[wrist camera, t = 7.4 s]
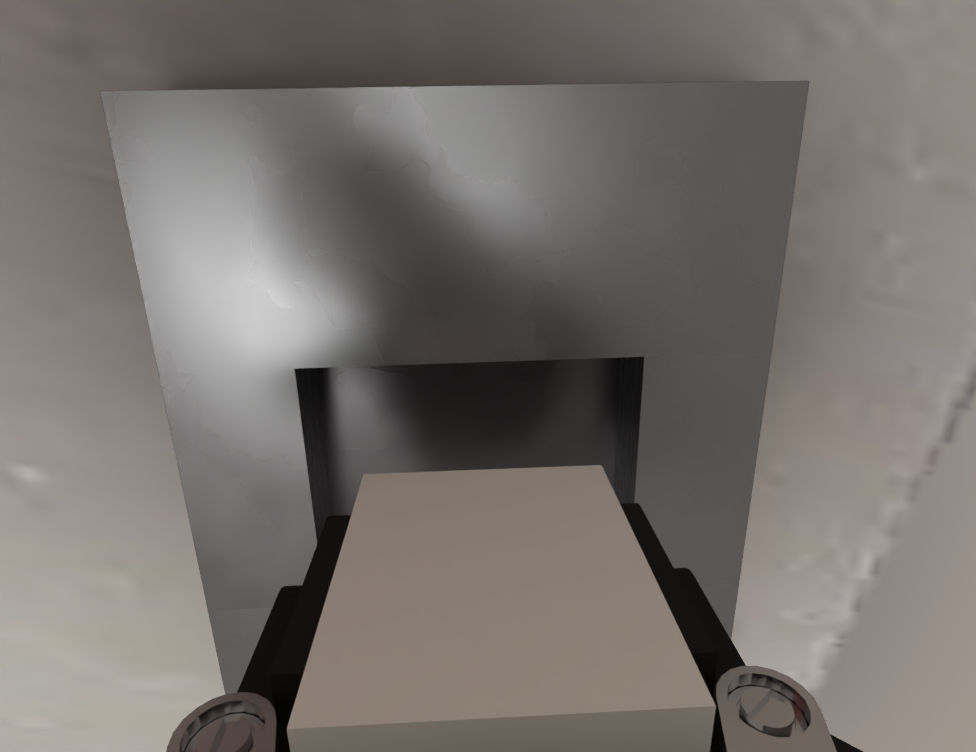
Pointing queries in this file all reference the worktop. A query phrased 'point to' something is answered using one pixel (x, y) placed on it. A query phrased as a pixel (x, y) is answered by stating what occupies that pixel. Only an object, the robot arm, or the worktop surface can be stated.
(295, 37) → the worktop surface
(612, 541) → the plug
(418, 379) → the socket
